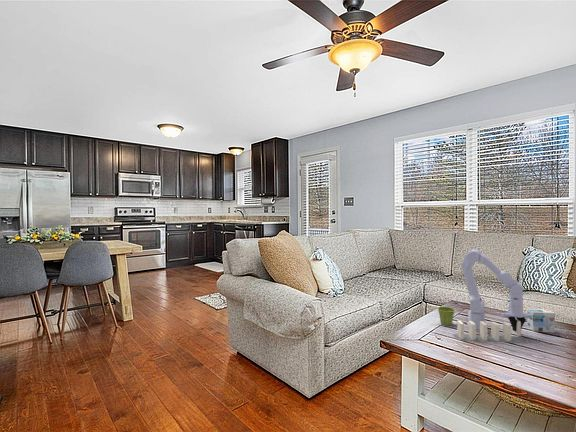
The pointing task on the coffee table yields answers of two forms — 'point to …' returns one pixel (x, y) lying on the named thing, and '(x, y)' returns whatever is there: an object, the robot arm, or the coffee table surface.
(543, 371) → the coffee table surface
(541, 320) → the light bulb box
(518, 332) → the domino
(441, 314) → the plant pot
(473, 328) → the domino
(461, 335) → the domino
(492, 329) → the domino
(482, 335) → the domino
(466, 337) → the mat
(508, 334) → the domino
